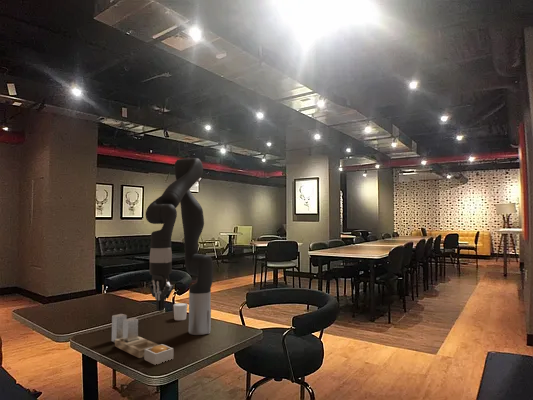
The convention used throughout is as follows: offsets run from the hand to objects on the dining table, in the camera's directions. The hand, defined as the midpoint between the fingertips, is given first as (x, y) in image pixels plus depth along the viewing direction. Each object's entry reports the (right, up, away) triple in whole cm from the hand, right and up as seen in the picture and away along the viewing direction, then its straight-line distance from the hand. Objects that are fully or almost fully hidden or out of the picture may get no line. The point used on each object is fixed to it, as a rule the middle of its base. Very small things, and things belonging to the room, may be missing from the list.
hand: (160, 310), depth 123 cm
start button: (0, -15, -1) cm, 15 cm away
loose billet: (-22, -18, +18) cm, 33 cm away
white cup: (-5, -20, +50) cm, 54 cm away
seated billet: (-15, -17, +12) cm, 26 cm away
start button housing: (0, -17, -1) cm, 17 cm away
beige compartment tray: (-11, -17, +9) cm, 22 cm away
